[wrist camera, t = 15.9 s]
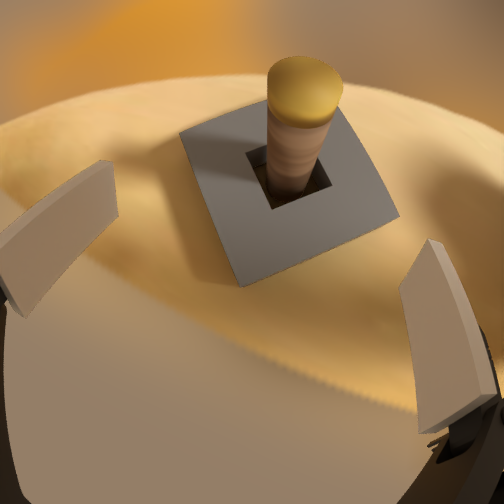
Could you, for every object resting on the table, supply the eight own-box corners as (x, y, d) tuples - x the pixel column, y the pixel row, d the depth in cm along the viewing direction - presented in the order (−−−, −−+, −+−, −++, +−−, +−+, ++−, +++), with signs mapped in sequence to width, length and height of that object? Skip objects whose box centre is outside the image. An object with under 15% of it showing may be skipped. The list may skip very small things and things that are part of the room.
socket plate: (383, 225, 27) (399, 216, 23) (243, 287, 27) (239, 287, 23) (317, 105, 29) (322, 84, 25) (188, 150, 29) (179, 133, 25)
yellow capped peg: (311, 194, 28) (357, 98, 12) (275, 208, 28) (288, 117, 12) (294, 161, 28) (319, 51, 13) (260, 174, 28) (255, 65, 12)
